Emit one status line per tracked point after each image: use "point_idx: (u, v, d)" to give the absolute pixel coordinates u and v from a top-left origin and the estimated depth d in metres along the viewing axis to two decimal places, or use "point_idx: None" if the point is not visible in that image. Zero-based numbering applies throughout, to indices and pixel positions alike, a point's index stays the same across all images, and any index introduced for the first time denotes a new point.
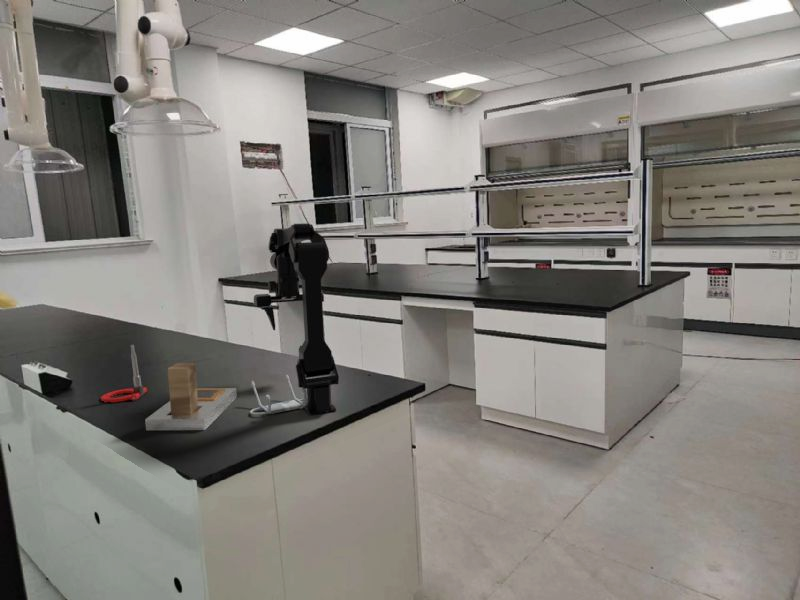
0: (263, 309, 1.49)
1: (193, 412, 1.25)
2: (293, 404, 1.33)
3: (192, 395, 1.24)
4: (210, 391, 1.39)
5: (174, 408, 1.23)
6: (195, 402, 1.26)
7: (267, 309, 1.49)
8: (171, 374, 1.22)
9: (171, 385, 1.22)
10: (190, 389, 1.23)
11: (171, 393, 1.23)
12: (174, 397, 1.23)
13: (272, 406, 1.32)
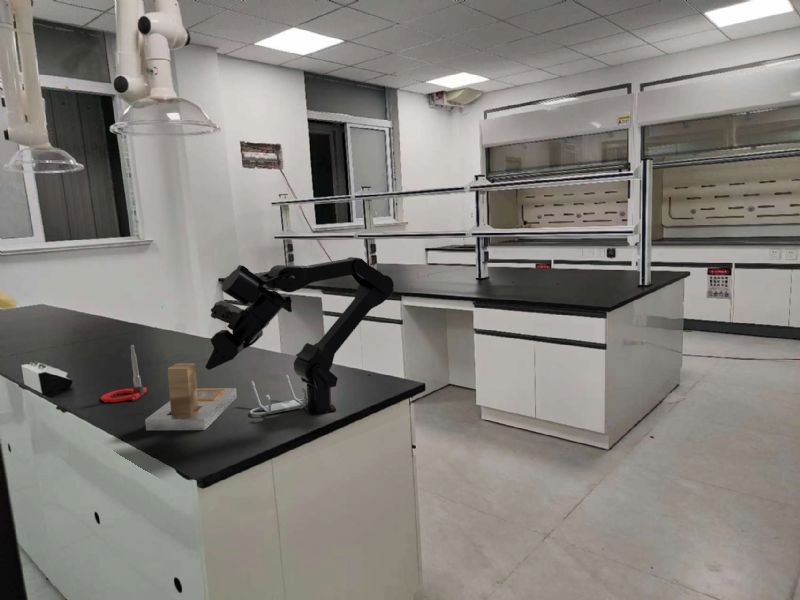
0: (230, 359, 1.16)
1: (193, 412, 1.25)
2: (293, 404, 1.33)
3: (192, 395, 1.24)
4: (210, 391, 1.39)
5: (174, 408, 1.23)
6: (195, 402, 1.26)
7: None
8: (171, 374, 1.22)
9: (171, 385, 1.22)
10: (190, 389, 1.23)
11: (171, 393, 1.23)
12: (174, 397, 1.23)
13: (272, 406, 1.32)
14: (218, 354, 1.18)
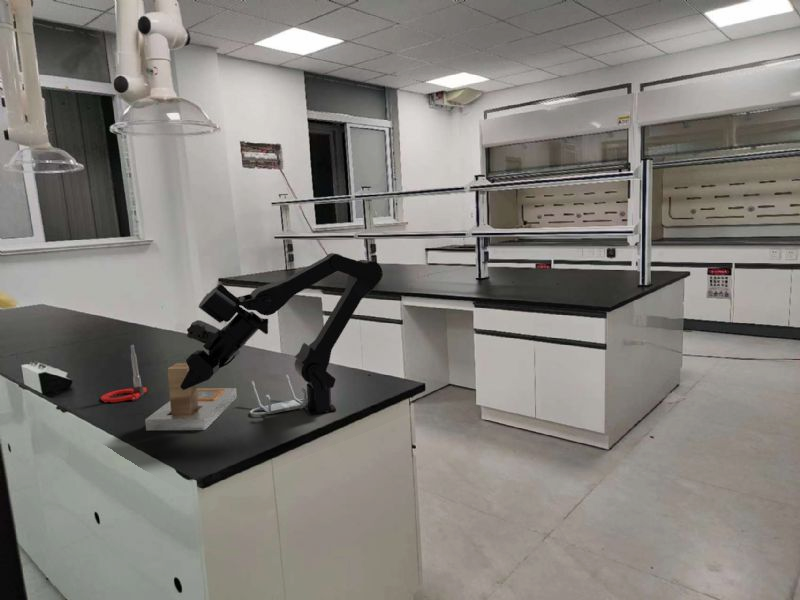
0: (206, 380, 1.16)
1: (193, 412, 1.25)
2: (293, 404, 1.33)
3: (192, 395, 1.24)
4: (210, 391, 1.39)
5: (174, 408, 1.23)
6: (195, 402, 1.26)
7: None
8: (171, 374, 1.22)
9: (171, 385, 1.22)
10: (190, 389, 1.23)
11: (171, 393, 1.23)
12: (174, 397, 1.23)
13: (272, 406, 1.32)
14: (193, 374, 1.18)
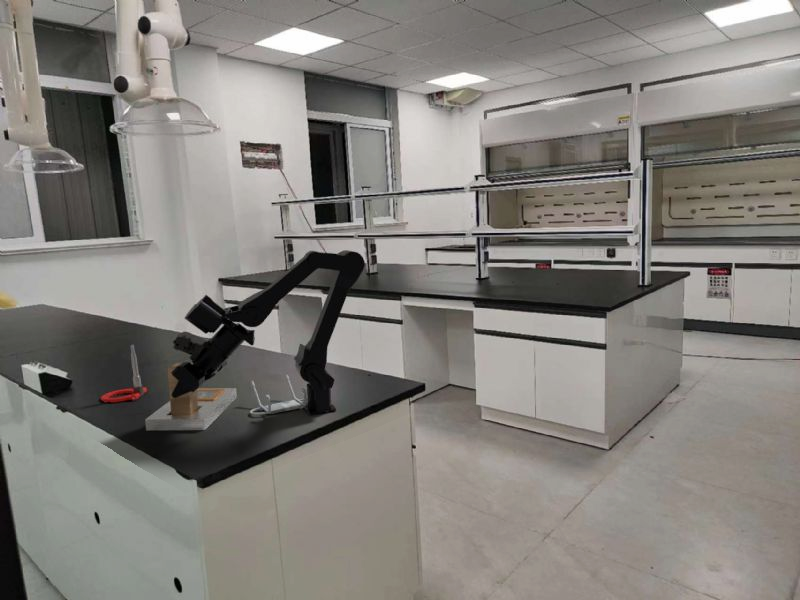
0: None
1: (193, 412, 1.25)
2: (293, 404, 1.33)
3: (192, 395, 1.24)
4: (210, 391, 1.39)
5: (174, 408, 1.23)
6: (194, 402, 1.26)
7: None
8: (171, 374, 1.22)
9: (171, 385, 1.22)
10: None
11: (171, 393, 1.23)
12: None
13: (272, 406, 1.32)
14: None
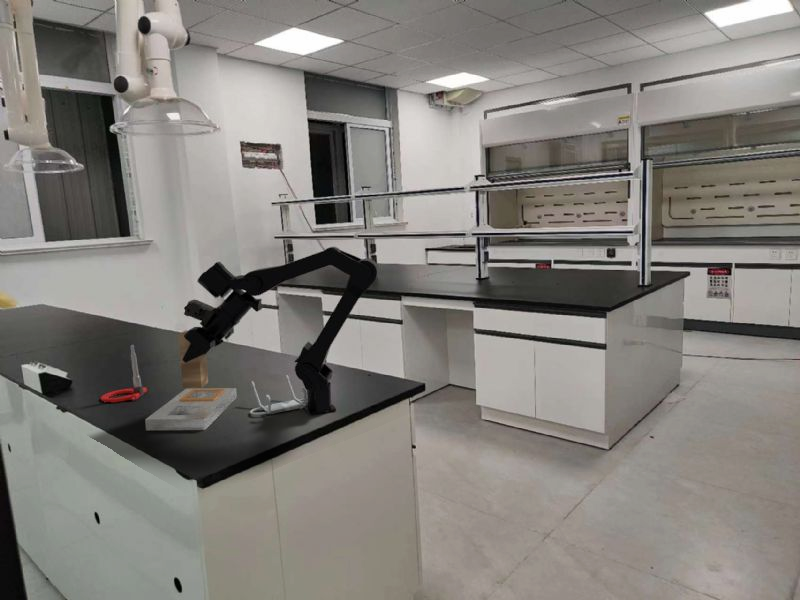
0: None
1: (203, 376, 1.31)
2: (293, 404, 1.33)
3: (202, 360, 1.30)
4: (210, 391, 1.39)
5: (185, 372, 1.29)
6: (204, 367, 1.32)
7: None
8: (182, 339, 1.28)
9: (182, 350, 1.28)
10: None
11: (182, 358, 1.28)
12: None
13: (272, 406, 1.32)
14: (194, 347, 1.27)
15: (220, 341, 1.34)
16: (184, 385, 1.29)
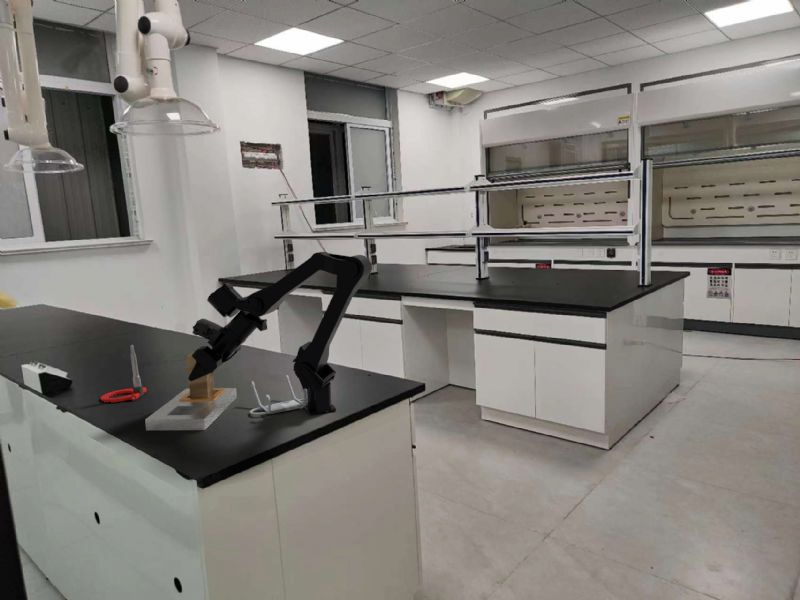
0: None
1: (210, 396, 1.36)
2: (293, 404, 1.33)
3: (209, 381, 1.35)
4: None
5: (193, 392, 1.34)
6: (211, 387, 1.37)
7: None
8: (190, 361, 1.33)
9: (190, 372, 1.33)
10: (207, 375, 1.34)
11: None
12: (193, 383, 1.34)
13: (272, 406, 1.32)
14: (200, 367, 1.30)
15: (229, 357, 1.40)
16: None
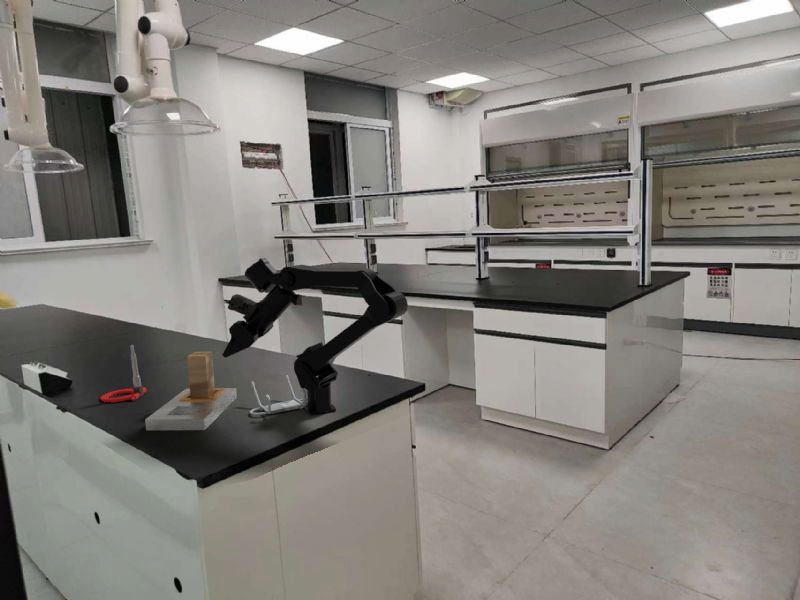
0: None
1: (210, 396, 1.36)
2: (293, 404, 1.33)
3: (210, 381, 1.35)
4: None
5: (193, 392, 1.34)
6: (212, 387, 1.37)
7: None
8: (190, 361, 1.33)
9: (190, 372, 1.33)
10: (208, 375, 1.34)
11: (190, 379, 1.34)
12: (193, 383, 1.34)
13: (272, 406, 1.32)
14: (234, 343, 1.28)
15: (263, 333, 1.40)
16: None
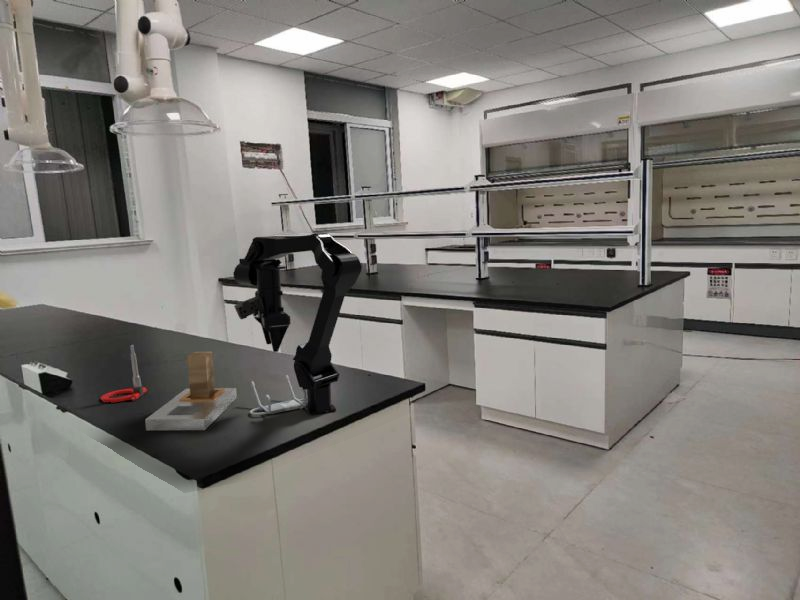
0: (288, 326, 1.33)
1: (210, 396, 1.36)
2: (293, 404, 1.33)
3: (210, 381, 1.35)
4: None
5: (193, 392, 1.34)
6: (212, 387, 1.37)
7: None
8: (191, 361, 1.33)
9: (190, 372, 1.33)
10: (208, 375, 1.34)
11: (190, 379, 1.34)
12: (193, 383, 1.34)
13: (272, 406, 1.32)
14: (275, 334, 1.34)
15: None
16: None
